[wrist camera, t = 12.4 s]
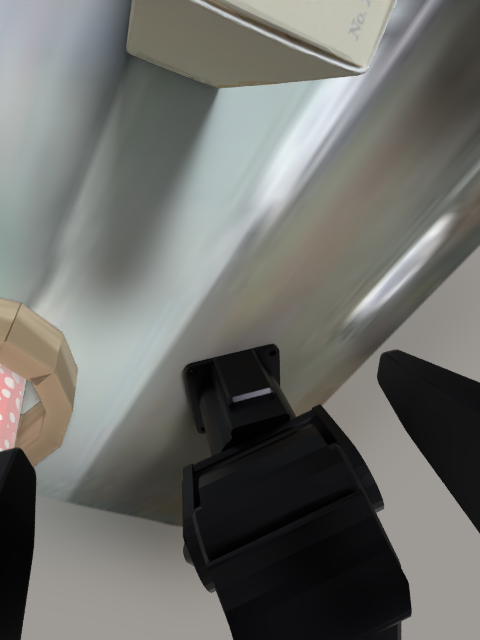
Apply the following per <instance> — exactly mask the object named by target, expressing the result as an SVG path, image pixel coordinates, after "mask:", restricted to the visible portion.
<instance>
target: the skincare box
mask: <svg viewBox="0 0 480 640" xmlns="http://www.w3.org/2000/svg"><path fill="white" fill-rule="evenodd" d="M397 1H398V0H132V5H131V12H130V20H129V28H128V37H127V45H126V50H127V52H128V53H129V54H131V55H133V56H136V57H138V58H140V59H143V60H145V61H148V62H150V63H152V64H155V65H157V66H160V67H162V68H165V69H167V70H170V71H172V72H175V73H178V74H180V75H183V76H185V77H188V78H190V79H193V80H196V81H199V82H202V83H205V84H207V85H210V86H213V87H216V88H228V87H241V86H255V85H267V84H279V83H288V82H298V81H309V80H319V79H328V78H338V77H347V76H357V75H360V74H363V73H365V72H366V71H367V70H368V68H369V66H370V64H371V62H372V60H373V58H374V55H375V53H376V50H377V48H378V45H379V43H380V41H381V39H382V36H383V34H384V32H385V29H386V26H387V24H388V21H389V19H390V17H391V15H392V12H393V10H394V8H395V5H396V3H397Z"/></svg>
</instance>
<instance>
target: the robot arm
mask: <svg viewBox="0 0 480 640" xmlns="http://www.w3.org/2000/svg"><path fill="white" fill-rule="evenodd" d="M272 350H274V351H273V352H271V353H269V352H270V351H272ZM194 369H195V371H194V372H191V370H194ZM185 372H186V377H187V382H188V387H189V392H190V397H191V402H192V407H193V412H194V416H195V421H196V426H197V430H198V432H199V433H202V434H203V433H206V435H207V439H208V443H209V447H210V450H211V454H212V457H209V458H207V459H205V460H203V461H201V462H199V463H197V464H194V465H193V464H190V465H188V466H186V467H184V468H183V481H182V501H183V538H184V542H185V543H184V548H183V553H184V557H185V560H186V562H187V563H189V564H191V565H193V566H194V567H195V569H196V571H197V573H198V576H199V578H200V580H201V582H202V583H203V585H204V587H205V588H206V589H207V590H208V591H209V592H211V593H212V592H214V591H216V592H217V595H218V597H219V600H220V603H221V605H222V608H223V611H224V613H225V616H226V618H227V621H228V624H229V626H230V630H231V633H232V636H233V640H401V621H403V620H405V619H407V618H409V617H411V612H412V611H411V600H410V590H409V583H408V580H407V579H406V576H405V575H404V573H403V571H402V569H401V565H400V562H399V559H398V557H397V555H396V553H395V551H394V549H393V547H392V545H391V543H390V541H389V539H388V537H387V535H386V533H385V531H384V528H383V527H382V524H381V522H380V520H379V518H378V516H377V514H376V512H379V511H380V510H382V509H384V503H383V499H382V496H381V494H380V491H379V489H378V487H377V484H376V482H375V480H374V478H373V476H372V474H371V472H370V470H369V469H368V467H367V465H366V463H365V462H364V460H363V458H362V456H361V455H360V453H359V452H358V450H357V449H356V447H355V446H354V445H353V443H352V442H351V441H350V440H349V438H348V437H347V436H346V435H345V433H344V432H343V431H342V430H341V429H340V427H339V426H338V425H337V424H336V423H335V421H334V420H333V419H332V418H331V417H330V415H329V414H328V413H327V412H326V411H325V409H324V408H323V407H322V406H321V405H320V404H319V405H317V406H315V407H313V408H312V410H310V411H308V412H306V413H304V414H302V415H300V416H297V417H296V415H295V413H294V412H293V410H292V408H291V406H290V404H289V403H288V401H287V399H286V397H285V395H284V394H283V392H282V390H281V388H280V356H279V349H278V347H277V346H276V345H275V344H269V345H265V346H261V347H256V348H252V349H248V350H244V351H240V352H235V353H231V354H227V355H223V356H219V357H214V358H210V359H206V360H202V361H198V362H193V363H190V364H188V365H187V366H186V368H185ZM377 379H378V382H379V385H380V387H381V388H382V390H383V392H384V393H385V395H386V397H387V399H388V401H389V402H390V404H391V406H392V407H393V409H394V411H395V413H396V414H397V416H398V418H399V420H400V421H401V423H402V425H403V426H404V428H405V430H406V431H407V433H408V434H409V436H410V437H411V439H412V440H413V441H414V443H415V444H416V445H417V447H418V448H419V450H420V451H421V453H422V454H423V455H424V457H425V458H426V459H427V461H428V462H429V463H430V465H431V466H432V468H433V469H434V471H435V472H436V473H437V475H438V476H439V477H440V479H441V480H442V482H443V483H444V484H445V486H446V487H447V489H448V490H449V491H450V493H451V494H452V495H453V497H454V498H455V500H456V501H457V502H458V504H459V505H460V507H461V508H462V509H463V511H464V512H465V513H466V515H467V516H468V517H469V519H470V520H471V522H472V523H473V524H474V526H475V527H476V529H477V530H478V531H479V533H480V383H479V382H477V381H475V380H472V379H469V378H467V377H465V376H462V375H460V374H457V373H455V372H452V371H450V370H447V369H444V368H442V367H440V366H437V365H435V364H432V363H430V362H427V361H425V360H422V359H420V358H417V357H415V356H412V355H410V354H407V353H405V352H402V351H399V350H391V351H387V352H384V353H382V355H381V357H380V362H379V368H378V373H377ZM35 501H36V473H35V470H34V468H33V466H32V464H31V463H30V461H29V459H28V458H27V456H26V455H25V453H24V451H23V450H22V449H21V448H19V447H15V448H11V449H7V450H3V451H0V640H21V633H22V626H23V620H24V613H25V606H26V599H27V592H28V586H29V579H30V572H31V565H32V558H33V550H34V536H35Z"/></svg>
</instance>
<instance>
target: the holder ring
mask: <svg viewBox="0 0 480 640" xmlns="http://www.w3.org/2000/svg"><path fill="white" fill-rule="evenodd" d="M0 364H1V365H3V366H4V367H6V368H8V369H9V370H11V371H13V372H14V373H16V374H18V375H19V376H21V377H23V378H24V379H26V380H28V381H29V382H31V383H32V384H33V386H34V388H35V390H36V392H37V394H38V396H39V398H40V400H41V401H40V402H39V403H38V404H36V405H35V406H34V407H32V408H31V409H30V410H29V411H27V412H26V413H25V414H23V415H20V417H19V423H18V428H17V434H16V439H15V445H14V448H15V447H19V448H21V449H22V450H23V451H24V453H25V455H26V456H27V458H28V459H29V461H30V463H31V464H32V466H33V467H34V466H35V465H36V464H37V463H39V462H40V461H41V460H43V459H44V458H45V457H47V456H48V455H49V454H51V453H52V452H53V451H55V450H56V449H57V448H59V447H60V446H61V444H62V441H63V438H64V435H65V432H66V429H67V426H68V423H69V420H70V417H71V414H72V411H73V404H74V396H75V388H76V380H77V372H78V368H77V366H76V363H75V361H74V358H73V356H72V354H71V351H70V349H69V346H68V344H67V341H66V339H65V337H64V334H62V332H61V331H59V330H58V329H57V328H55V327H54V326H52V325H51V324H50V323H48V322H47V321H46V320H44V319H43V318H41V317H40V316H39V315H37V314H36V313H35V312H33V311H32V310H31V309H29V308H28V307H26V306H25V305H24V304H21V305H20V302H15V301H11V300H6V299H2V298H0Z"/></svg>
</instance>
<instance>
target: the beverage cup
mask: <svg viewBox="0 0 480 640" xmlns="http://www.w3.org/2000/svg"><path fill="white" fill-rule="evenodd" d="M25 385H26V379H24V378H23V377H21V376H19V375H18V374H16V373H14V372H13V371H11V370H9V369H8V368H6V367H4V366H3V365H1V364H0V451H3V450H7V449H11V448H14V445H15V439H16V434H17V428H18V423H19V417H20V412H21V406H22V401H23V395H24V390H25Z"/></svg>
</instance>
